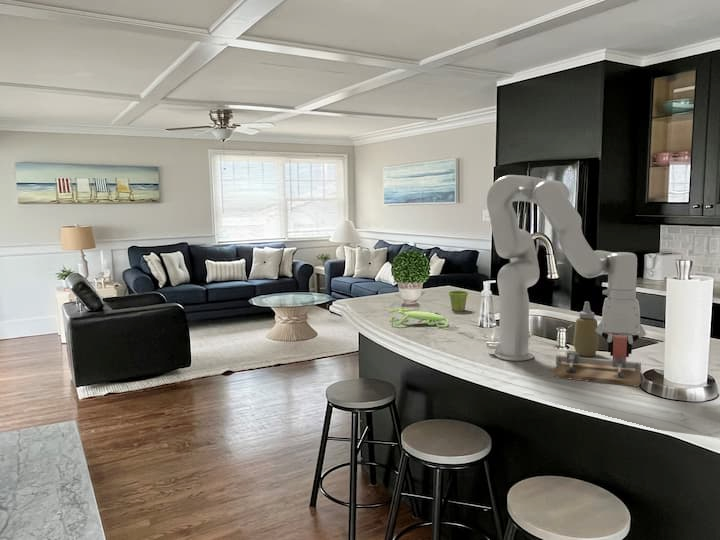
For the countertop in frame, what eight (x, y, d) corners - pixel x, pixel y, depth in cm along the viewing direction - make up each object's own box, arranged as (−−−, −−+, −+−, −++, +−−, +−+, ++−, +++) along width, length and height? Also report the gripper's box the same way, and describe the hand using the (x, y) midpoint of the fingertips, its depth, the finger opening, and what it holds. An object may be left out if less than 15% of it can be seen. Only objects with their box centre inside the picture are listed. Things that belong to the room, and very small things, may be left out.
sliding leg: (612, 375, 161) (613, 341, 160) (612, 366, 170) (613, 334, 168) (626, 376, 160) (627, 343, 159) (625, 367, 168) (626, 335, 167)
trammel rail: (553, 370, 168) (554, 357, 167) (556, 362, 176) (556, 349, 175) (641, 379, 158) (642, 365, 158) (640, 370, 166) (640, 356, 166)
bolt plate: (553, 377, 165) (553, 373, 165) (558, 364, 178) (558, 360, 178) (640, 386, 156) (641, 382, 156) (638, 372, 168) (639, 368, 168)
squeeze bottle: (602, 353, 189) (603, 301, 186) (593, 359, 183) (595, 304, 180) (578, 350, 194) (579, 298, 192) (568, 355, 188) (570, 302, 186)
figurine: (389, 318, 254) (389, 306, 253) (449, 319, 249) (449, 307, 248) (384, 328, 235) (384, 315, 235) (448, 328, 231) (448, 315, 230)
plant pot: (467, 312, 262) (467, 294, 261) (447, 311, 264) (447, 293, 263) (469, 308, 271) (469, 290, 270) (449, 308, 273) (449, 290, 272)
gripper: (590, 295, 164) (588, 356, 167) (654, 298, 158) (651, 361, 160) (591, 291, 171) (589, 349, 174) (652, 293, 164) (650, 354, 167)
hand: (619, 354), depth 167 cm, fingers closed on sliding leg, 3 cm apart
